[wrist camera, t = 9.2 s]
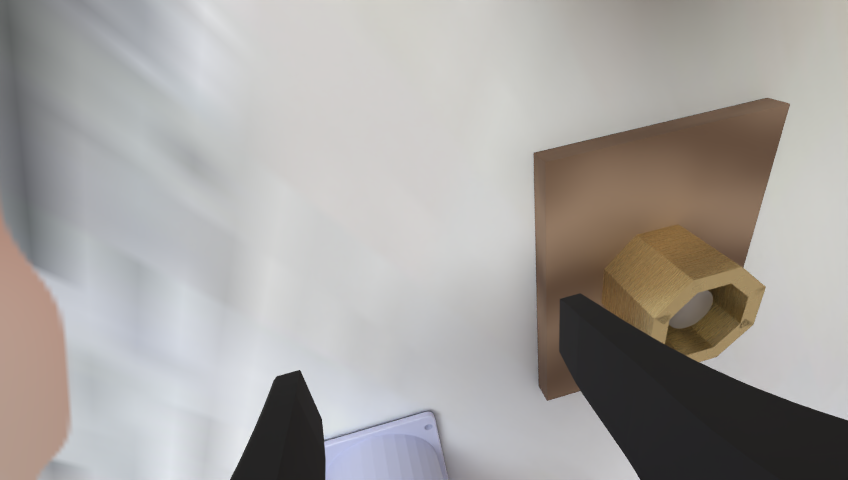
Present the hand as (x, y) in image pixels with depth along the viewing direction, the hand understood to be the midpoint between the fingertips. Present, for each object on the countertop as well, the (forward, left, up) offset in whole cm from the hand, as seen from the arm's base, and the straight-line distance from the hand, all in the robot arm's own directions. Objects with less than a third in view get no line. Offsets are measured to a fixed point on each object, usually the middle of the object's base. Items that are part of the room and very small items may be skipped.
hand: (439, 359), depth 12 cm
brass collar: (-7, -13, -8) cm, 17 cm away
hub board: (-7, -13, -9) cm, 18 cm away
